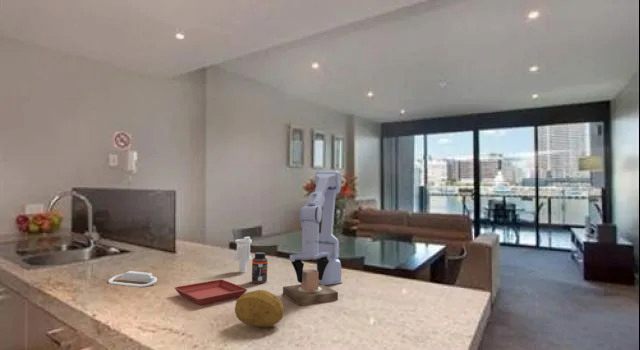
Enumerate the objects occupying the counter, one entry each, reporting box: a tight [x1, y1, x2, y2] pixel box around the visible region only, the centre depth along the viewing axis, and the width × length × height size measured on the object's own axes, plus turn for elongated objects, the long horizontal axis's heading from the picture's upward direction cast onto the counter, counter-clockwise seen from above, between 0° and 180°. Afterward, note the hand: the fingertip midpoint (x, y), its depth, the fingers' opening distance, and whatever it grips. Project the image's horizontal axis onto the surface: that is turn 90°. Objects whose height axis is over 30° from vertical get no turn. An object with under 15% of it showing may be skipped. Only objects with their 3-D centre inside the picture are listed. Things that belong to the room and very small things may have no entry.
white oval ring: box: [107, 270, 158, 288], centre depth 140 cm, size 20×8×4 cm, turn 74°
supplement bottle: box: [251, 251, 268, 284], centre depth 144 cm, size 6×6×11 cm
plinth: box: [282, 282, 339, 306], centre depth 125 cm, size 14×14×3 cm
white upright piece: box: [234, 236, 253, 274], centre depth 160 cm, size 7×7×15 cm
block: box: [300, 268, 319, 291], centre depth 126 cm, size 4×4×6 cm
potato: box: [234, 289, 285, 329], centre depth 99 cm, size 10×13×9 cm
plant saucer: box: [174, 279, 248, 307], centre depth 124 cm, size 18×18×3 cm
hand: (309, 280), depth 126 cm, fingers open, 7 cm apart
